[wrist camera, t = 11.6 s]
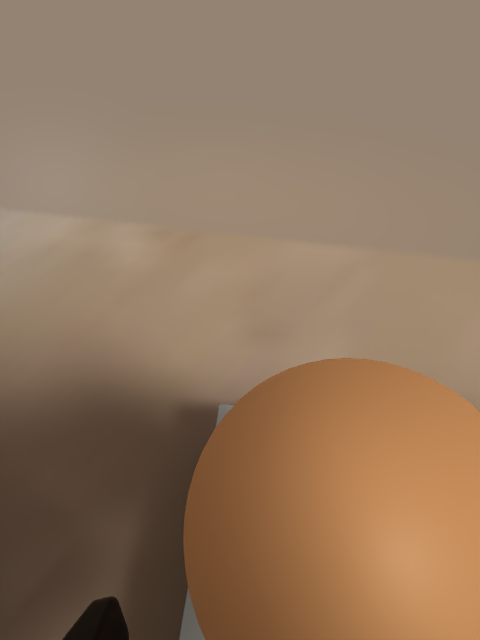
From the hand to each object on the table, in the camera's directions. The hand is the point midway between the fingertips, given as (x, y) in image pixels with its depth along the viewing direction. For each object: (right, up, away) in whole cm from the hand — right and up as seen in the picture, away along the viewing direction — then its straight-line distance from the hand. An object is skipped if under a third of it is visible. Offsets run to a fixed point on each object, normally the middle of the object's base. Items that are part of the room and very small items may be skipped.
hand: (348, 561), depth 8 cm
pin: (+1, -4, +8) cm, 9 cm away
